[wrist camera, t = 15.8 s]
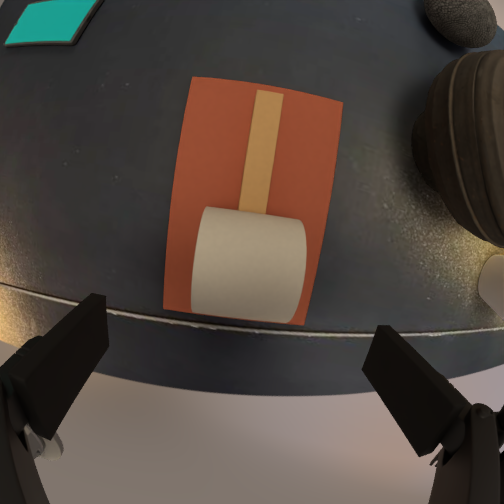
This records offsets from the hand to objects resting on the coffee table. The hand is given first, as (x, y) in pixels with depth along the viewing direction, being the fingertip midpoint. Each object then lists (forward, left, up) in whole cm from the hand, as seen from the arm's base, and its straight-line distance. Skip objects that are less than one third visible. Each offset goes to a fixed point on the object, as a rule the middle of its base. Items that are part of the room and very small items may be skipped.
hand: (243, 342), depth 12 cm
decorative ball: (+32, +25, -15) cm, 43 cm away
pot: (+25, +7, -15) cm, 30 cm away
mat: (+2, +5, -14) cm, 15 cm away
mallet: (+2, +5, -14) cm, 15 cm away
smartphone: (-17, +35, -14) cm, 41 cm away
